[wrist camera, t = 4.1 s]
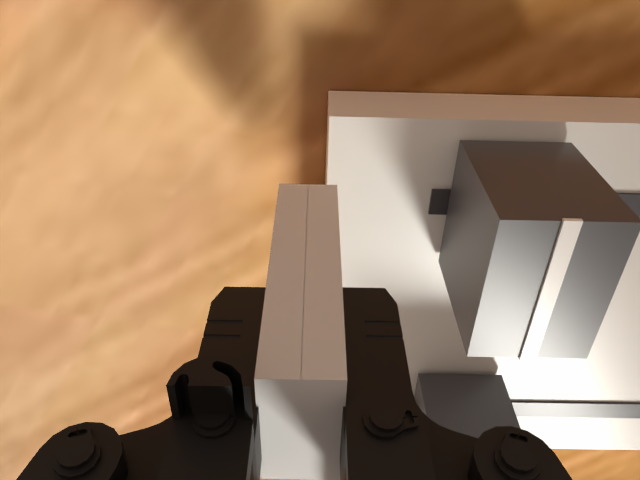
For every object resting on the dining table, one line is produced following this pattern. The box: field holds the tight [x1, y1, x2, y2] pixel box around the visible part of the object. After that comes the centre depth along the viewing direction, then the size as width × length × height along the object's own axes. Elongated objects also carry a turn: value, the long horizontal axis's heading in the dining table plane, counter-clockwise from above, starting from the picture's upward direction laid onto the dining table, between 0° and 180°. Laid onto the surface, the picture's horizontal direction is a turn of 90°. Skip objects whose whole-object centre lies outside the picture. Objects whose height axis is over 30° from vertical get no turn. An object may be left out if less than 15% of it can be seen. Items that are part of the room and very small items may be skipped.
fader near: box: [438, 140, 640, 361], centre depth 14 cm, size 3×4×4 cm
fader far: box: [414, 374, 521, 438], centre depth 19 cm, size 3×4×4 cm
